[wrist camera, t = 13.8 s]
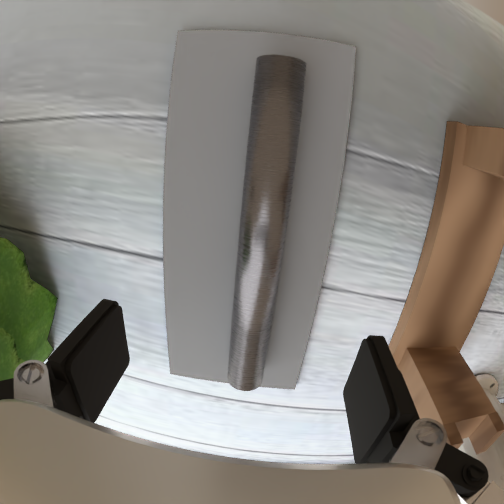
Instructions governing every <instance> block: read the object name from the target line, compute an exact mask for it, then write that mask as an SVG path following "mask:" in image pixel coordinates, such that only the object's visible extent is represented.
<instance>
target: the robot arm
mask: <svg viewBox="0 0 504 504" xmlns="http://www.w3.org/2000/svg"><path fill="white" fill-rule="evenodd" d="M129 360H130V357H129V351H128V346H127V340H126V333H125V327H124V320H123V313H122V308H121V306H119V305H118V303H117V302H116V301H112V300H107V299H103V300H102V301H101V302H100V303H99V304H98V305H97V306H96V307H95V308H94V309H93V310H92V311H91V312H90V313H89V314H88V315H87V316H86V317H85V318H84V319H83V320H82V322H81V323H80V324H79V325H78V326H77V327H76V328H75V329H74V330H73V331H72V332H71V333H70V334H69V336H68V337H67V338H66V339H65V340H64V341H63V342H62V343H61V344H60V345H59V347H58V348H57V349H56V350H55V351H54V352H53V353H52V354H51V356H50V357H49V358H48V362H47V363H46V364H44V363H43V362H41V361H39V360H28V361H25V362H23V363H21V364H20V365H19V366H18V367H17V368H16V370H15V371H14V378H11V379H7V380H2V381H0V504H504V432H503V433H502V434H501V435H500V437H499V438H498V439H497V440H496V441H495V442H494V443H493V444H492V445H491V446H490V447H489V448H488V449H487V450H486V451H485V452H482V453H479V454H477V455H476V453H475V450H474V448H473V446H472V444H471V441H470V439H469V437H468V438H464V439H462V440H463V442H464V443H463V444H462V445H461V446H460V447H459V448H458V449H457V448H455V447H453V446H452V445H450V444H448V443H446V441H447V432H446V430H445V428H444V426H443V425H442V424H441V423H439V422H438V421H436V420H434V419H431V418H422V419H420V418H419V415H418V412H417V410H416V407H415V405H414V402H413V400H412V397H411V395H410V392H409V390H408V387H407V385H406V382H405V380H404V378H403V375H402V373H401V371H400V370H398V367H397V365H396V363H395V360H394V358H393V356H392V354H391V351H390V349H389V347H388V344H387V342H386V340H385V338H384V337H383V336H372V335H370V336H368V337H367V339H363V341H362V343H361V346H360V349H359V352H358V354H357V357H356V360H355V362H354V365H353V367H352V370H351V372H350V375H349V377H348V380H347V382H346V385H345V387H344V392H343V396H344V402H345V407H346V413H347V418H348V424H349V429H350V435H351V441H352V447H353V454H354V460H355V463H356V464H294V463H277V462H265V461H255V460H246V459H238V458H231V457H224V456H218V455H212V454H206V453H201V452H195V451H191V450H186V449H181V448H177V447H172V446H168V445H164V444H160V443H156V442H152V441H149V440H145V439H141V438H138V437H135V436H131V435H128V434H125V433H122V432H118V431H115V430H112V429H109V428H107V427H104V426H101V425H98V424H95V423H94V422H95V421H96V420H97V418H98V416H99V414H100V413H101V411H102V409H103V407H104V406H105V404H106V402H107V400H108V399H109V397H110V395H111V394H112V392H113V390H114V388H115V387H116V385H117V383H118V382H119V380H120V378H121V377H122V375H123V373H124V372H125V370H126V368H127V367H128V365H129ZM475 377H476V379H477V380H478V382H479V384H480V385H481V387H482V388H483V390H484V392H485V393H486V395H487V397H488V398H489V400H490V402H491V404H492V405H493V407H494V409H495V410H496V412H498V414H499V416H500V418H501V420H502V421H503V423H504V403H501V404H500V402H499V401H498V399H497V397H496V395H497V392H498V383H497V381H496V379H495V378H494V377H493V376H492V375H489V374H482V375H477V376H475Z"/></svg>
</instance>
